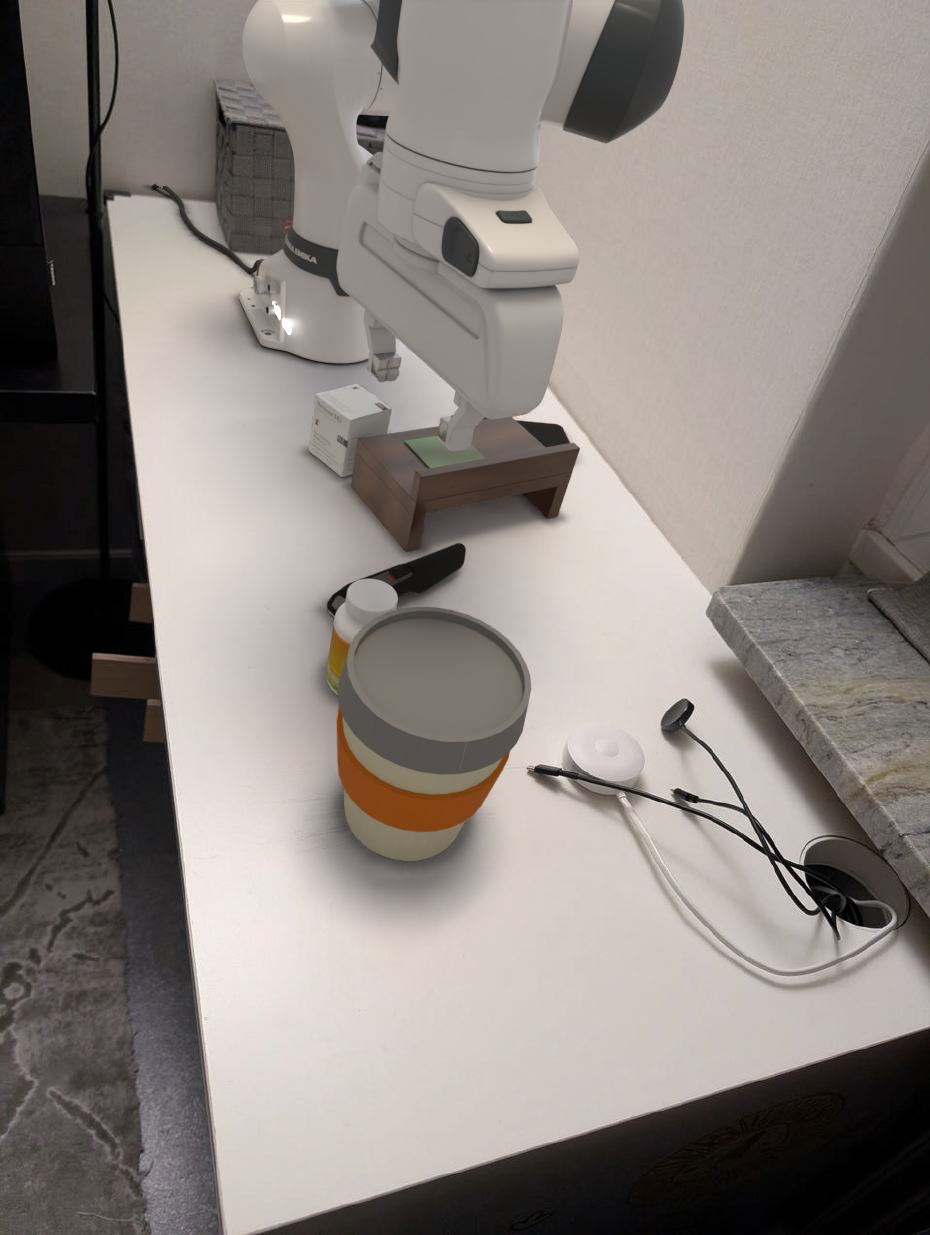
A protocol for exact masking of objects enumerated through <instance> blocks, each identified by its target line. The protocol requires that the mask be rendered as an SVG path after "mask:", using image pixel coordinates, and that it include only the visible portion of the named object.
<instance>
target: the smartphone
mask: <svg viewBox="0 0 930 1235" xmlns="http://www.w3.org/2000/svg"><path fill="white" fill-rule="evenodd" d="M453 415H454V414H452V415H450V417H452V416H453ZM484 419H487V418H486V417H485V418H484ZM515 420H516V421H517V422H518V423H519V424H520V425H521V426H522V427H524V428H525V429H526V430H527V431H528V432H529V433H530V434H531V435H532V436H533V437H535V438H536V439H537V440H538V441H539V442H540V443H541V444H542V445H543V446H545V447H551V446H557V445H563V444H568V443H571V441H570V439H569V437H568V435H567V433H566V431H565V429H564V427H563V426H562V425H561V424H558V423H551V422H542V421H541V422H540V421H532V420H531V421H530V420H519V419H518V420H517V419H515Z"/></svg>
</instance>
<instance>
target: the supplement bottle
mask: <svg viewBox="0 0 930 1235" xmlns="http://www.w3.org/2000/svg"><path fill="white" fill-rule="evenodd" d="M360 579H361V580H359V579H357V580H358V581H356V580H355V581H356V582H354V581H353V582H354V583H352V584H351V585H350V586H349V588H348V590H347V595H346V600H345V603H343V604H342V605H341V606H340V607H339V608H338V610H337V612H336V614H335V617H333V618H334V620H333V624H332V630H331V639H330V645H329V652H328V658H327V664H326V674H325V676H326V677H325V678H326V683H327V685H328V687H329V688H330V690H331V691H332V692H333V693H334V694H335V695H336V696H338V692H337V691H338V684H339V678H340V675H341V672H342V669H343V665H344V662H345V659H346V656H347V653H348V650H349V647H350V645H351V643H352V641H353V639H354V637H355V636H356V634H357V633H358V632H359V631H360V630H361V628H362V627H364V626H365V625H366V624H368V623H369V622H370V621H372V620H373V619H375V618H377V617H379V616H381V615H383V614H385V613H387V612H391V611H395V610H397V607H398V601H399V598H398V596H397V593H396V591H395V590H394V589H393V588H392V587H391V586H390V585H389V584H387V583H385V582H383V581H380V580H376V579H362V578H360Z"/></svg>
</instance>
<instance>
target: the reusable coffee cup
mask: <svg viewBox="0 0 930 1235" xmlns="http://www.w3.org/2000/svg"><path fill="white" fill-rule="evenodd" d="M337 692H338V695H337V700H338V706H339V707H338V708H337V716H336V755H337V756H336V758H337V762H336V763H337V771H338V777H339V779H340V782H341V785H342V787H343V807H344V809H343V810H344V816H345V820H346V823H347V825H348V827H349V829H350V831H351V833H352V834H353V836H354V837H355V838H356V839H357V840H358V841H359V842H360V843H361V844H362V845H363V846H365V847H366V848H367V849H368V850H370V851H371V852H373V853H375V854H377V855H380V856H382V857H384V858H387V859H391V860H395V861H403V862H413V861H416V862H417V861H421V860H426V859H427V860H428V859H430V858H432V857H435V856H437V855H439V854H441V853H443V851H445V850H446V849H448V848H449V847H450V846H451V845H452V844H453V843H454V841H455V840H456V839H457V837H458V835H459V833H460V832H461V830H462V828H463V827H464V825H465V823H466V821H467V820H468V819H470V818H471V817H472V816H474V815H475V814H476V813H477V812H478V810H479V809H480V808H481V807H482V806H483V804H484V802H486V799H487V798H488V796H489V794H490V792H492V789H493V788H494V786H495V784H496V783H497V781H498V779H499V777H500V776H501V773H502V772H503V771H504V768H505V766H506V765H507V763H508V761H509V758H510V754H511V751H512V750H513V749H514V747H515V746H516V745H517V743H518V742H519V740H520V737H521V736H522V733H523V732H524V727H525V722H526V718H527V713H528V708H529V703H530V699H531V692H532V679H531V673H530V670H529V667H528V664H527V662H526V660H525V659H524V657H523V656H522V654H521V652H520V651H519V649H518V648H517V647H516V646H515V645H514V644H513V643H512V641H511V640H510V639H509V638H507V636H505V635H504V634H503V633H502V632H500V631H499V630H498V629H497V628H495V627H493V626H492V625H490V624H488V623H486V622H485V621H483V620H481V619H479V618H476V617H474V616H472V615H470V614H466V613H463V612H461V611H456V610H454V609H449V608H442V607H436V606H414V607H403V608H399V609H396V610H395V611H391V612H387V613H385V614H383V615H381V616H379V617H377V618H375V619H373V620H372V621H370V622H369V623H368V624H366V625H365V626H364V627H362V628H361V630H360V631H359V632H358V633H357V634H356V636H355V637H354V639H353V641H352V643H351V645H350V647H349V650H348V653H347V656H346V659H345V662H344V665H343V669H342V672H341V675H340V678H339V684H338V691H337Z"/></svg>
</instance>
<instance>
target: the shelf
mask: <svg viewBox="0 0 930 1235" xmlns="http://www.w3.org/2000/svg"><path fill="white" fill-rule="evenodd" d="M516 420H517V419H515V417H509V418H501V419H483V420H482V421H481V422H480V423H479V424H478V425H477V426H475V429H474V433H473V437H472V442H471V445H470V446H469V447H468V448H467V449H465V450H461V451H455V452H451V451H449V450H448V449H447V448H446V447H445V446H444V445H443V444H442V443H441V441H440V440H439V439H438V438H437V434H438V432H439V431H440V430H439V425H437V426H429V427H424V428H417V429H411V430H404V431H397V432H391V433H387V434H383V435H376V436H370V437H363V438H358V440H357V447H356V454H355V461H354V468H353V474H352V475H351V483H350V487H351V488H352V489H353V491H355V493H356V494H357V495H358V496H359V497H360V499H361V500H362V501H363V502H364V503H365V505H366V506H367V507H368V508H369V509H370V510H371V512H372V513H373V514H374V515H375V517H376V518H377V519H378V520H379V521H380V523H381V524H382V525H383V526H384V528H386V529H387V531H388V532H389V533H390V534H391V536H392V537H393V538H394V539H395V540H396V542H397V543H398V544H399V545H400V546H401V547H402V549H403V550H404V551H405V552H407V553H408V552H411V551H415V550H419V549H420V548H421V543H422V540H423V533H424V529H425V525H426V519H427V514H431V513H432V514H433V513H436V512H442V511H447V510H451V509H456V508H461V507H466V506H470V505H476V504H480V503H484V502H489V501H494V500H499V499H503V498H508V497H512V496H513V497H514V496H518V495H522V496H523V497H524V498H525V499H526V500H527V501H528V502H529V503H530V504H531V505H532V506H533V507H534V508H535V509H536V510H537V511H539V513H540V514H542V515H543V517H544V518H546V519H547V520H549V519H552V518H557V517H558V516H559V514H560V511H561V508H562V505H563V502H564V499H565V496H566V492H567V490H568V486H569V484H570V481H571V478H572V475H573V471H574V469H575V466H576V464H577V461H578V460H577V459H578V456H579V454H580V450H581V447H579V446H578V444H576V443H575V442H570V443H568V444H563V445H557V446H551V447H545V446H543V445H542V444H541V443H540V442H539V441H538V440H537V439H536V438H535V437H533V436H532V435H531V434H530V433H529V432H528V431H527V430H526V429H525V428H524V427H522V426H521V425H520V424H519V423H518V422H517V421H516Z"/></svg>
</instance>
